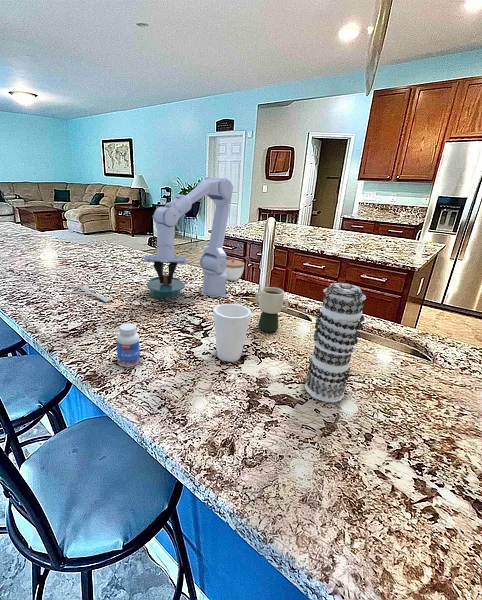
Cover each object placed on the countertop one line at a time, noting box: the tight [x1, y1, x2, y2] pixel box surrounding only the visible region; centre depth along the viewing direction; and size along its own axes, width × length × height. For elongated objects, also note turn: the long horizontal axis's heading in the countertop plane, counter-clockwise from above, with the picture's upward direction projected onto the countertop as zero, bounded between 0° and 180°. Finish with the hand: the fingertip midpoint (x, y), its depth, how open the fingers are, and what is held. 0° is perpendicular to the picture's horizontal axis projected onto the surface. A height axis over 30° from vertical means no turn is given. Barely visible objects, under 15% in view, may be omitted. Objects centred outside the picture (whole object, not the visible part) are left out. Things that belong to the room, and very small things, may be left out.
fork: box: [75, 285, 110, 303], centre depth 122 cm, size 3×21×3 cm, turn 54°
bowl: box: [148, 276, 182, 299], centre depth 126 cm, size 12×12×6 cm
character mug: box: [254, 286, 289, 333], centre depth 99 cm, size 11×7×13 cm, turn 54°
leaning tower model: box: [304, 282, 367, 403], centre depth 69 cm, size 9×9×25 cm
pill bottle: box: [116, 322, 140, 368], centre depth 79 cm, size 6×5×10 cm
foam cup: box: [212, 303, 252, 363], centre depth 83 cm, size 10×9×13 cm
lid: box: [146, 273, 186, 292], centre depth 112 cm, size 13×13×5 cm
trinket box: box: [223, 258, 245, 282], centre depth 149 cm, size 11×11×9 cm
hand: (165, 283), depth 112 cm, fingers closed on lid, 2 cm apart
